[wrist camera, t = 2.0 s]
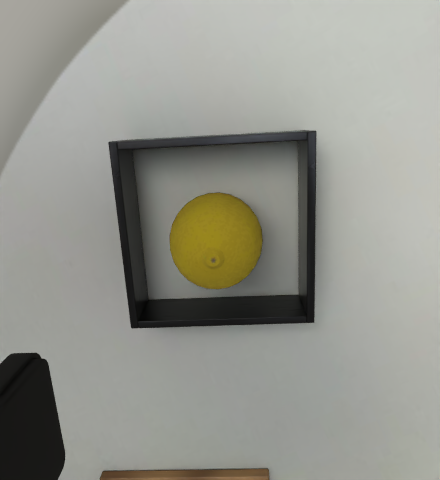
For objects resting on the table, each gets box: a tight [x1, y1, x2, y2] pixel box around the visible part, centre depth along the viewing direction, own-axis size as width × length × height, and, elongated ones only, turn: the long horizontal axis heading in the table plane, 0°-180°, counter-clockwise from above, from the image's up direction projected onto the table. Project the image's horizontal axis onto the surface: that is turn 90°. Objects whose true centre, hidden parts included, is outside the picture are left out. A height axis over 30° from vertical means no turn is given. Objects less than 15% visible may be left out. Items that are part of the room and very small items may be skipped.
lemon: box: [170, 193, 263, 289], centre depth 24 cm, size 6×6×8 cm
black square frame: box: [109, 130, 316, 328], centre depth 27 cm, size 12×12×4 cm
